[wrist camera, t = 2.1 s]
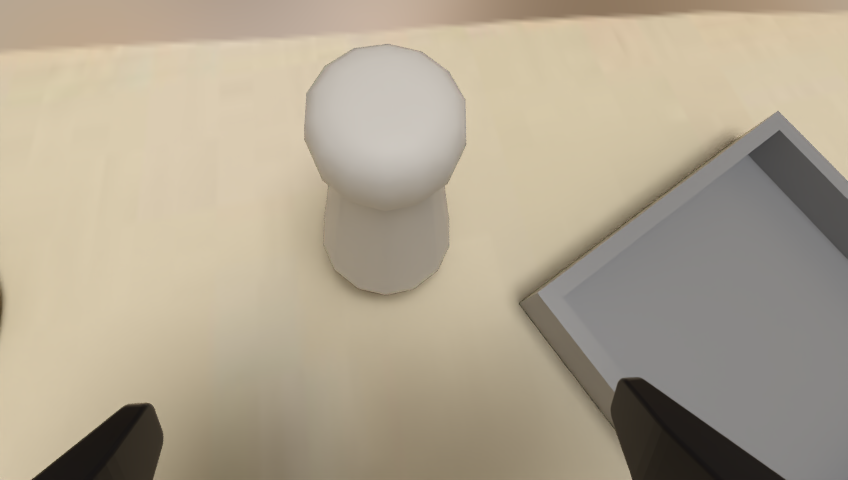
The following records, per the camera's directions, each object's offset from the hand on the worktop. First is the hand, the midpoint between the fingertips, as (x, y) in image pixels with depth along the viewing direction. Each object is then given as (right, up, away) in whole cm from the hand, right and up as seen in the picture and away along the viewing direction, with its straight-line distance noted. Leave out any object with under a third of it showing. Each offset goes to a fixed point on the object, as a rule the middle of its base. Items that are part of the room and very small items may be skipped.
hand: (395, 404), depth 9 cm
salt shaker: (-1, +3, +15) cm, 15 cm away
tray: (+17, -2, +14) cm, 22 cm away
